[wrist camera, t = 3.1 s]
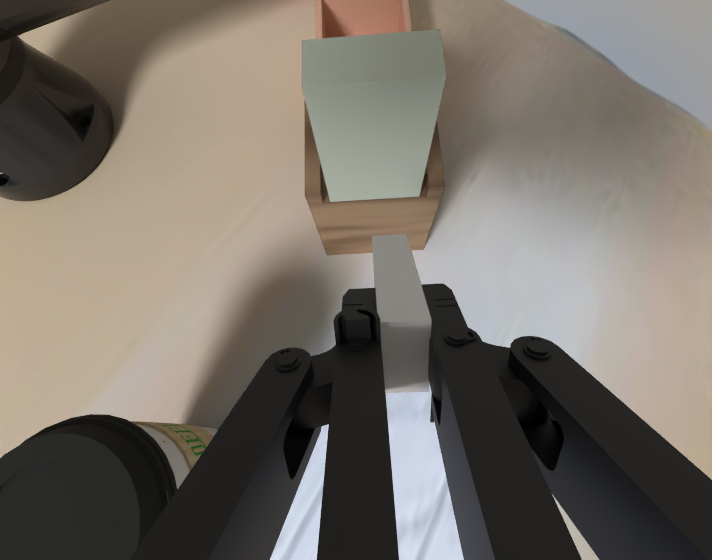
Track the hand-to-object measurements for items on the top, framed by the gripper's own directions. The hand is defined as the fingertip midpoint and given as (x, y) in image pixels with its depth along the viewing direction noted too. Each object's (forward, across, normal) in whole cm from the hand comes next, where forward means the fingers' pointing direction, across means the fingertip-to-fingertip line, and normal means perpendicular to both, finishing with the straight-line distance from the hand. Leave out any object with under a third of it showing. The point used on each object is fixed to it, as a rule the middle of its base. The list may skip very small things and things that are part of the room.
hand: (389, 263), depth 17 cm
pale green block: (+10, 0, +1) cm, 10 cm away
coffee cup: (+4, -15, -20) cm, 25 cm away
